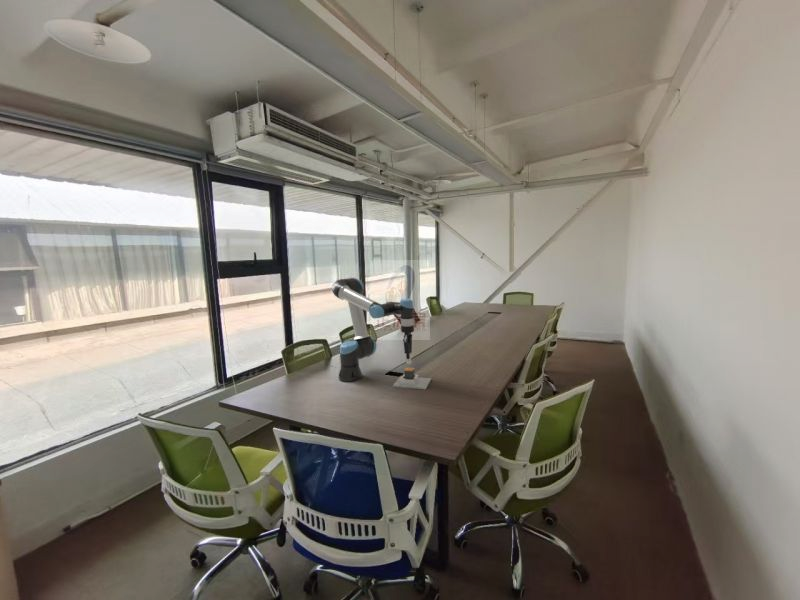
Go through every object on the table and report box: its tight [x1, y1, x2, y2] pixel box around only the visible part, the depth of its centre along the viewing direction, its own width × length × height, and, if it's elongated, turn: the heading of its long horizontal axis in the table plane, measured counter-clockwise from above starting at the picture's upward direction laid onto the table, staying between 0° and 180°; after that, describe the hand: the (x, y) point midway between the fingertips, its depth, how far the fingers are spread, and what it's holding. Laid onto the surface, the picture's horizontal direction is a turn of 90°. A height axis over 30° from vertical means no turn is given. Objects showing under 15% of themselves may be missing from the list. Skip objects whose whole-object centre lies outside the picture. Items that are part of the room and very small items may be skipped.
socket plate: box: [392, 373, 432, 390], centre depth 203 cm, size 20×16×4 cm
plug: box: [403, 367, 415, 379], centre depth 203 cm, size 5×4×8 cm
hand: (408, 363), depth 202 cm, fingers closed
